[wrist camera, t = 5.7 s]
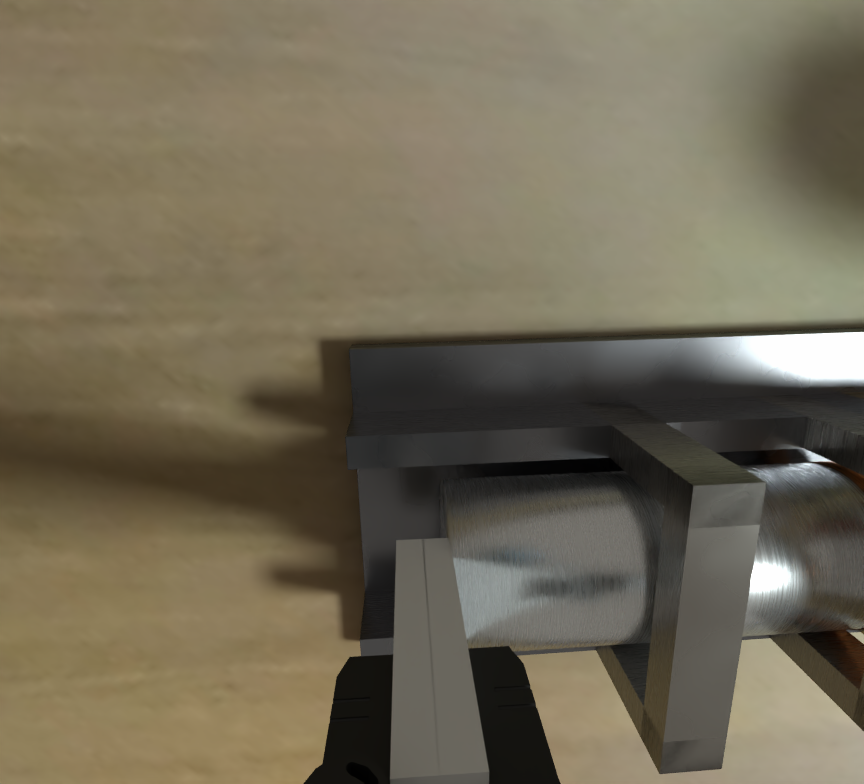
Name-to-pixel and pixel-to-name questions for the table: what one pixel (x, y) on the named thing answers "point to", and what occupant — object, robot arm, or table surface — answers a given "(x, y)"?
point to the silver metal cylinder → (641, 556)
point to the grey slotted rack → (641, 459)
